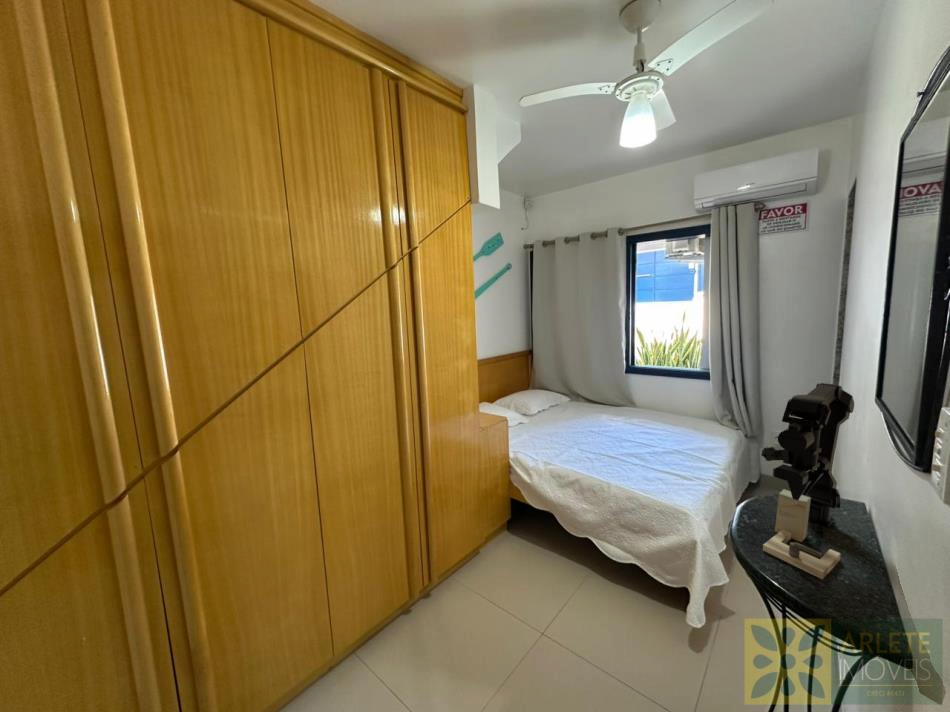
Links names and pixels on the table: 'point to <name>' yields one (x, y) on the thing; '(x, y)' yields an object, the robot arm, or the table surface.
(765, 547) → the beige c-shaped bracket
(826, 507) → the robot arm
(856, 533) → the table surface
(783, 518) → the skincare box
